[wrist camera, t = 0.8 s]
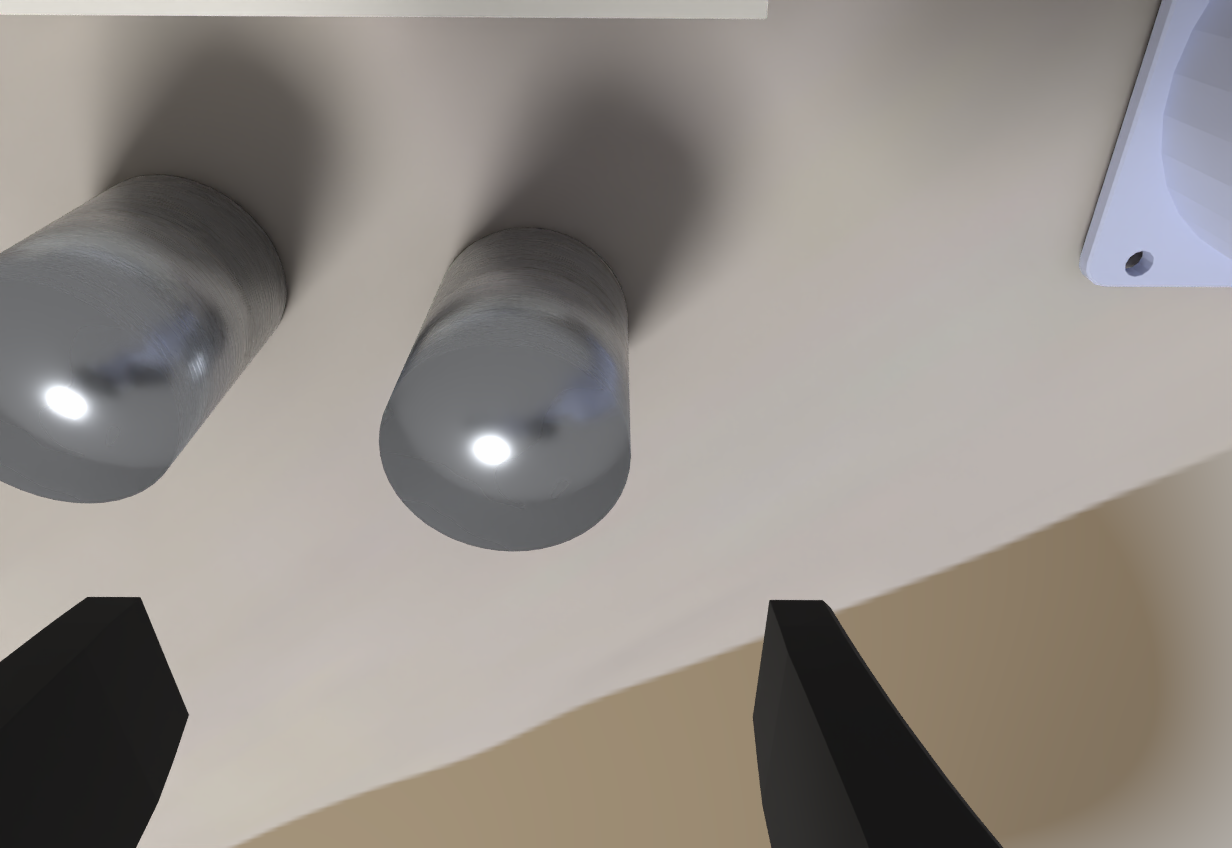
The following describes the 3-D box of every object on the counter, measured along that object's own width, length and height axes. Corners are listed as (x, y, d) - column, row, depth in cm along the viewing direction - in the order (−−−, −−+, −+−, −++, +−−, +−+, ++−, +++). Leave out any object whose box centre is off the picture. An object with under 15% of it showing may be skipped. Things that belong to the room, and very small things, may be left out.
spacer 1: (262, 175, 16) (135, 279, 12) (303, 360, 18) (208, 504, 14) (52, 174, 16) (-151, 277, 12) (118, 359, 18) (-33, 502, 14)
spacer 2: (628, 228, 17) (633, 345, 12) (626, 402, 19) (629, 551, 14) (425, 227, 17) (360, 343, 12) (447, 400, 19) (397, 550, 14)
